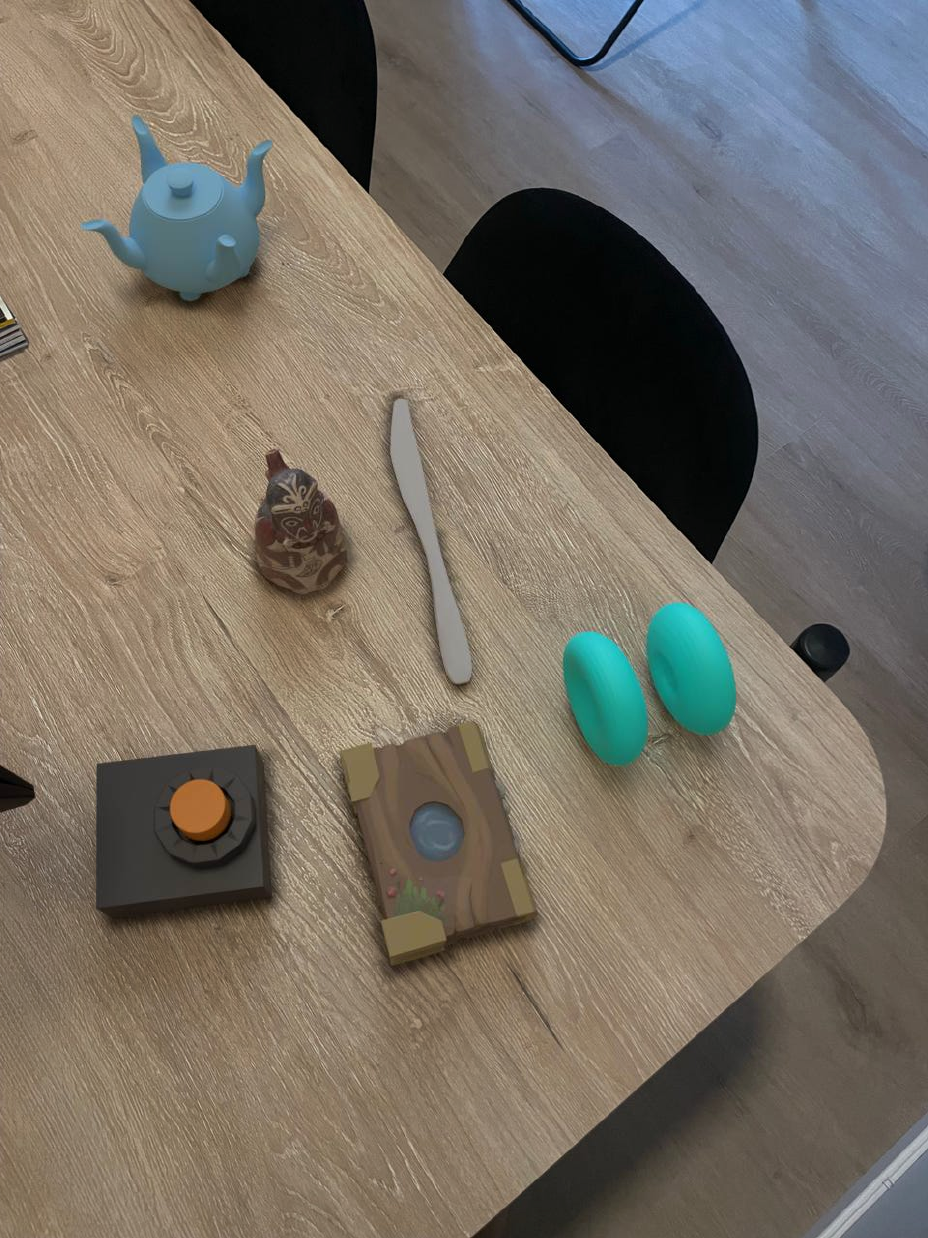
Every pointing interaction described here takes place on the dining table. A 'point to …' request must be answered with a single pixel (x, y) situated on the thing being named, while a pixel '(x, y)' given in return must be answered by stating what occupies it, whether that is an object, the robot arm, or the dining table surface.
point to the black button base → (179, 835)
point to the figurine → (297, 530)
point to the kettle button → (200, 810)
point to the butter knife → (429, 544)
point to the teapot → (189, 221)
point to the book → (437, 840)
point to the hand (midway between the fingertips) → (30, 795)
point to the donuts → (681, 672)
